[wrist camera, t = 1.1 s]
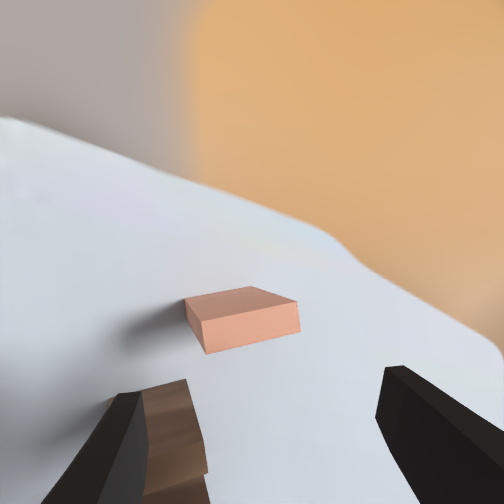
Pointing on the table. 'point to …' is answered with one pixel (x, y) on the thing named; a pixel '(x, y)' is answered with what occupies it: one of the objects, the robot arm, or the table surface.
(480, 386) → the table surface
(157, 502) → the walnut domino
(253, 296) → the terracotta domino
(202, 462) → the walnut domino
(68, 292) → the table surface
